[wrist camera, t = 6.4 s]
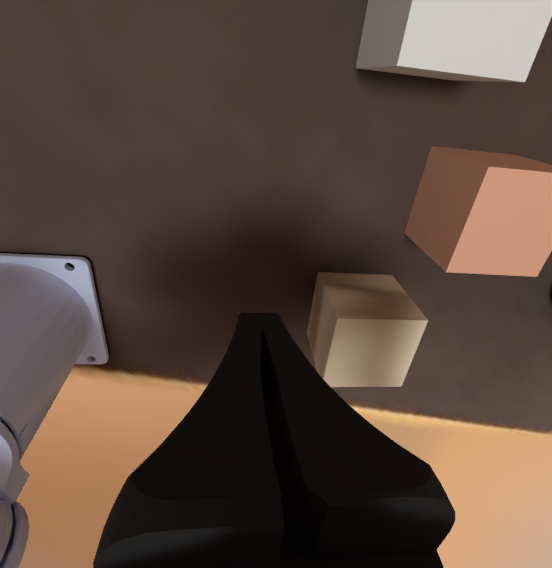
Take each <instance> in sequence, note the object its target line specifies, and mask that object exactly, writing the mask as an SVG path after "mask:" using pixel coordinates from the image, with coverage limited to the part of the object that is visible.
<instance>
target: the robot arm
mask: <svg viewBox="0 0 552 568" xmlns="http://www.w3.org/2000/svg"><path fill="white" fill-rule="evenodd" d="M67 263H71V264H73V265H74V267H75V268H72V267H70V266H69V265H68V264H67ZM90 356H92V357H94V358H92V357H90ZM108 358H109V354H108V349H107V344H106V339H105V334H104V329H103V324H102V319H101V314H100V309H99V304H98V299H97V294H96V289H95V284H94V279H93V274H92V269H91V264H90V262H89V261H88V260H87V259H85V258H84V257H76V256H54V255H31V254H8V253H0V568H19V565H20V563H21V560H22V557H23V554H24V551H25V547H26V543H27V539H28V531H29V522H28V516H27V513H26V511H25V509H24V507H22V505H21V504H20V503H18V502H16V500H17V497H18V496H19V494H20V492H21V490H22V488H23V486H24V484H25V482H26V481H27V479H28V476H29V474H28V472H26V471H25V470H24V469H23V468H22V466H21V465H20V460H21V458H22V456H23V454H24V452H25V451H26V449H27V447H28V445H29V443H30V442H31V440H32V438H33V436H34V435H35V433H36V431H37V430H38V428H39V426H40V424H41V422H42V421H43V419H44V417H45V416H46V414H47V412H48V410H49V409H50V407H51V405H52V403H53V401H54V400H55V398H56V396H57V394H58V393H59V391H60V389H61V387H62V386H63V384H64V382H65V380H66V379H67V377H68V375H69V373H70V371H71V370H72V368H73V366H74V364H104V363H106V362H107V360H108ZM454 522H455V511H454V509H453V507H452V505H451V503H450V501H449V499H448V497H447V494H446V493H445V491H444V489H443V487H442V485H441V483H440V482H439V480H438V478H437V477H436V475H435V474H434V472H433V470H432V468H431V467H430V465H429V464H427V463H426V462H424V461H423V460H421V459H419V458H418V457H416V456H415V455H413V454H412V453H410V452H409V451H407V450H406V449H404V448H402V447H401V446H400V445H398V444H397V443H395V442H394V441H393V440H391V439H390V438H388V437H387V436H386V435H384V434H383V433H382V432H380V431H379V430H378V429H377V428H375V427H374V426H373V425H371V424H370V423H369V422H368V421H367V420H365V419H364V418H363V417H362V416H361V415H360V414H358V413H357V412H356V411H355V410H354V409H353V408H351V407H350V406H349V405H348V404H347V403H346V402H345V401H344V400H343V399H342V398H341V397H340V396H339V395H338V394H337V393H336V392H335V391H334V390H333V389H332V388H331V387H330V386H329V385H328V384H327V383H326V381H325V380H324V379H323V378H322V377H321V376H320V375H319V373H318V372H317V371H316V370H315V368H314V367H313V366H312V365H311V363H310V362H309V361H308V360H307V358H306V357H305V356H304V354H303V353H302V351H301V350H300V348H299V347H298V346H297V344H296V343H295V341H294V340H293V338H292V337H291V335H290V333H289V332H288V330H287V328H286V327H285V325H284V323H283V321H282V320H281V318H280V316H279V315H278V314H273V313H241V314H239V315H238V321H237V326H236V329H235V332H234V335H233V338H232V340H231V342H230V345H229V347H228V349H227V352H226V354H225V356H224V358H223V360H222V362H221V363H220V365H219V367H218V369H217V371H216V373H215V374H214V376H213V378H212V379H211V381H210V383H209V384H208V386H207V387H206V389H205V390H204V392H203V393H202V395H201V396H200V398H199V399H198V400H197V402H196V403H195V404H194V406H193V407H192V408H191V410H190V411H189V412H188V414H187V415H186V416H185V417H184V419H183V420H182V421H181V422H180V423H179V424H178V426H177V427H176V428H175V429H174V430H173V431H172V432H171V434H170V435H169V436H168V437H167V438H166V439H165V441H164V442H163V443H162V444H161V445H160V446H159V447H158V448H157V449H156V450H155V451H154V452H153V453H152V454H151V455H150V456H149V457H148V458H147V459H146V460H145V461H144V462H143V463H142V464H141V465H140V466H139V467H138V468H137V469H136V470H135V471H134V472H133V473H132V474H131V475H130V476H129V477H128V478H127V480H126V482H125V484H124V485H123V488H122V489H121V491H120V493H119V495H118V497H117V499H116V501H115V503H114V505H113V507H112V509H111V512H110V514H109V516H108V519H107V521H106V524H105V526H104V529H103V532H102V535H101V539H100V542H99V546H98V549H97V552H96V556H95V559H94V562H93V566H94V568H443V565H442V562H441V560H440V557H439V555H438V553H437V548H438V547H439V545H440V544H441V543H442V541H443V540H444V539H445V537H446V536H447V534H448V533H449V532H450V530H451V528H452V526H453V524H454Z"/></svg>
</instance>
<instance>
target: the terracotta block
mask: <svg viewBox="0 0 552 568" xmlns="http://www.w3.org/2000/svg"><path fill="white" fill-rule="evenodd" d="M404 233H405V234H406V235H407V236H408V237H409V238H410V239H411V240H412V241H413V242H414V243H415V244H416V245H417V246H419V247H420V248H421V249H422V250H423V251H424V252H425V253H426V254H427V255H428V256H429V257H430V258H431V259H432V260H433V261H434V262H436V263H437V264H438V265H439V266H440V267H441V268H442V269H443V270H444V271H445V272H452V273H472V274H492V275H512V276H532V277H537V276H538V274H539V272H540V270H541V269H542V267H543V265H544V263H545V261H546V260H547V258H548V256H549V254H550V253H551V251H552V165H550V164H546V163H543V162H539V161H536V160H532V159H529V158H525V157H521V156H518V155H513V154H503V153H493V152H484V151H474V150H464V149H455V148H445V147H435V146H432V147H431V150H430V153H429V156H428V159H427V163H426V166H425V169H424V172H423V175H422V178H421V181H420V185H419V188H418V191H417V194H416V197H415V200H414V204H413V207H412V210H411V213H410V216H409V219H408V222H407V226H406V229H405V232H404Z"/></svg>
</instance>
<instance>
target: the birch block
mask: <svg viewBox="0 0 552 568" xmlns="http://www.w3.org/2000/svg"><path fill="white" fill-rule="evenodd" d="M427 322H428V320H427V318H426V317H425V316H424V315H423V313H422V312H421V311H420V309H419V308H418V307H417V306H416V304H415V303H414V302H413V301H412V299H411V298H410V297H409V295H408V294H407V293H406V292H405V290H404V289H403V288H402V287H401V285H400V284H399V283H398V281H397V280H396V279H395V278H394V276H393V275H380V274H356V273H331V272H318V275H317V280H316V285H315V291H314V296H313V302H312V307H311V313H310V318H309V323H308V329H307V336H308V340H309V344H310V347H311V351H312V355H313V358H314V362H315V366H316V369H317V372H318V373H319V375H320V376H321V377H322V378H323V379H324V380H325V381H326V383H327V384H328V385H329V386H330V387H401V386H402V384H403V381H404V379H405V377H406V374H407V372H408V369H409V367H410V364H411V362H412V359H413V357H414V354H415V352H416V349H417V347H418V344H419V342H420V339H421V337H422V334H423V332H424V330H425V327H426V325H427Z"/></svg>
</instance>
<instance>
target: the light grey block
mask: <svg viewBox="0 0 552 568" xmlns="http://www.w3.org/2000/svg"><path fill="white" fill-rule="evenodd" d="M551 17H552V0H368V5H367V10H366V16H365V21H364V27H363V32H362V37H361V43H360V48H359V54H358V59H357V64H356V68H357V69H365V70H373V71H381V72H389V73H397V74H405V75H413V76H421V77H429V78H437V79H445V80H453V81H497V82H525V81H526V78H527V76H528V73H529V71H530V68H531V66H532V63H533V61H534V59H535V56H536V54H537V51H538V49H539V46H540V44H541V41H542V39H543V36H544V34H545V32H546V29H547V27H548V24H549V22H550V19H551Z"/></svg>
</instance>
